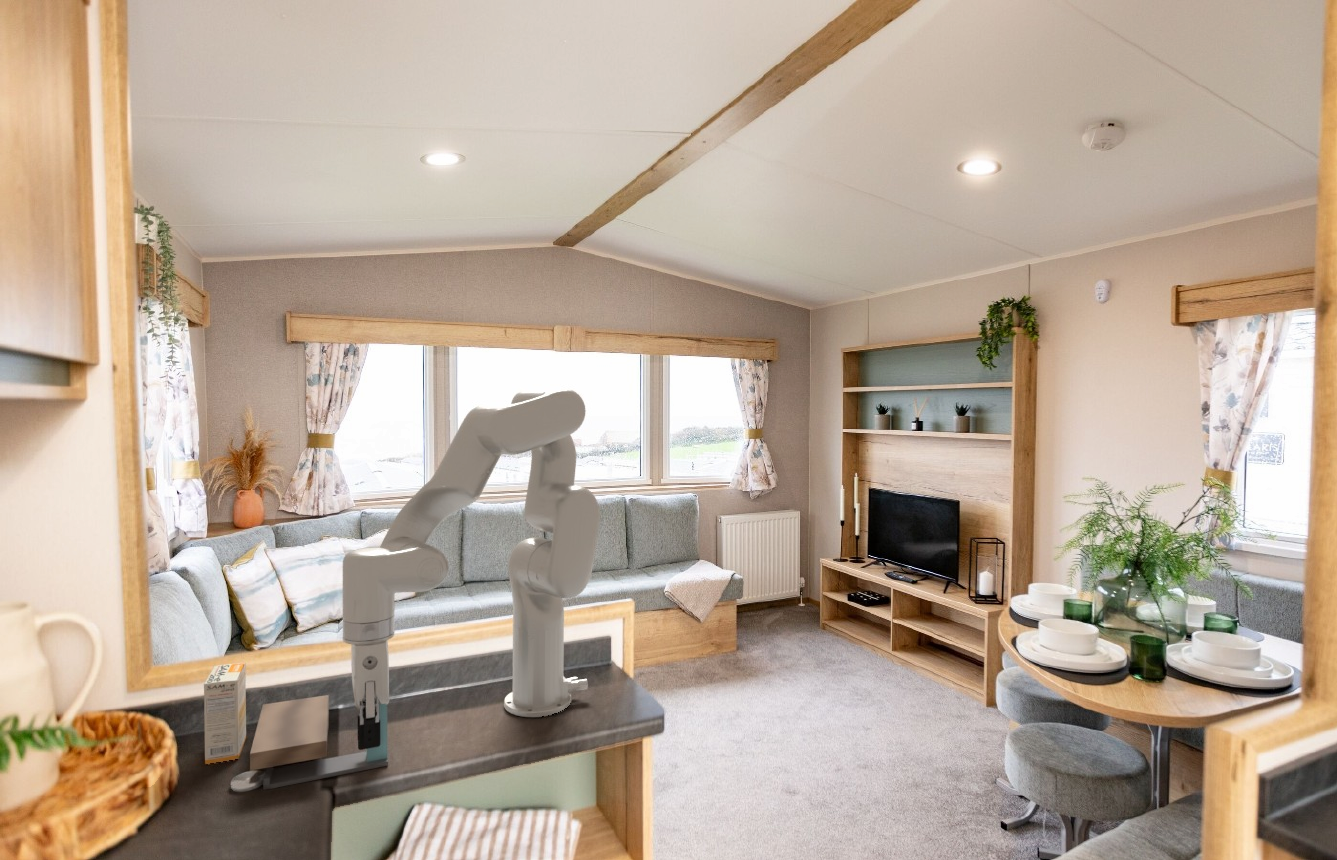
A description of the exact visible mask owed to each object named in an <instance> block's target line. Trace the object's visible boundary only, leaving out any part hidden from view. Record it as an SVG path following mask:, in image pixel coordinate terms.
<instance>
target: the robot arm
mask: <svg viewBox="0 0 1337 860" xmlns="http://www.w3.org/2000/svg"><path fill="white" fill-rule="evenodd" d="M586 411H587V410H586V405H585V402H584V400H583V398H582V396H581V395H580V394H579V393H577V392H576V391H575V390H572V389H570V388H565V387H546V388H545V387H533V388H526V389H523V390H520V391H518V392H517V393H516V394H515V395H514V396H513V398H512V400H511V402H510V404H485V405H479V406H476V407H474V408H472V409H471V410H470V411H468V413H467V414H466V415H465V417H464V419H463V421H462V422H461V424H460V426H459V428H458V430H457V431H456V434H455V435H454V436H453V439H452V441H451V442H450V444H449V447H448V448H447V450H446V452H445V454H444V455H443V458H442V459H441V461H440V463H439V464H438V467H437V469H436V470H435V472H434V474H433V476H432V477H431V478H430V479H429V480H428V482H426V483H425V484H424V485H423V486H421V488H420V489H419V490H418V491H417V492H416V493H415V494H414V495H413V496H412V497H411V498H410V499H409V501H407V503H405V504H404V505H403V507H402V508H401V510H399V512H398V513H397V515H396V516H395V518H394V520H393V522H392V523H391V525H390V527H389V528H388V531H386V534H385V536H384V538H383V539H382V541H381V544H380V547H366V548H365V547H364V548H357V549H354V550H350V551H349V552H347V553H346V554H345V556H344V557H343V559H342V560H343V561H342V642H343V643H345V644H348V645H350V650H351V651H350V652H351V653H350V655H351V657H350V658H351V660H350V662H351V663H350V664H351V681H352V682H351V683H352V691H353V698H354V705H355V706H354V707H356V708H357V709H358V714H359V715H357V749H358V750H360V751H362V750H366V749H368V748H374V747H379V746H380V720H379V701H380V703H381V704H385V705H387V706H388V704H389V703H390V672H389V671H390V668H389V667H390V665H389V663H390V662H389V659H390V657H389V641H388V640H391V639H392V638H394V636H395V597H396V595H395V594H399V593H423V592H424V593H425V592H428V591H430V590H434V589H436V588H437V587H439V586H440V585H441V584H443V582H444V581H445V579H446V578H447V577H448V573H449V566H450V565H449V561H448V558H447V556H446V555H445V554H444V552H443V551H442V550H440V549H438V548H437V547H435V546H433V545H430V544H427V543H428V542H429V540H430V538H431V537H432V535H433V533H434V532H435V531H436V529H437V528H438V526H439V525H441V524H442V523H443V522H444V521H445V520H446V519H447V518H448V517H450V516H451V515H453V514H454V513H456V512H458V511H461V510H463V509H464V508H465V509H466V508H467V507H468V506H470V505H472V504H474V503H475V502H476V501H478V500H479V498H480V497H481V495H482V493H483V491H484V489H485V487H486V485H487V483H488V481H489V479H490V477H491V475H492V473H493V472H494V469H495V467H496V465H497V463H498V462H499V460H500V458H501V456H502V455H508V456H512V455H519V454H523V453H527V452H530V451H531V461H530V462H531V463H530V472H529V477H528V483H527V484H528V485H527V490H526V494H525V495H526V496H525V503H524V517H525V520H526V522H527V524H528V525H529V526H530V527H532V528H533V529H535V530H538V531H541V532H544V533H549V534H552V538H551V539H547V538H543V537H529V538H526V539H523V540H521V541H520V542H518V543H517V544H516V545H515V546H514V547H513V549H512V551H511V552H510V555H509V559H508V564H507V565H508V567H507V568H508V577H509V584H510V590H511V596H512V597H511V598H512V691H511V692H509V693H508V694H507V695H506V696H505V697H504V699H503V707H504V709H505V710H506V711H507V712H508V713H509V714H511V715H513V716H519V717H522V718H523V717H524V718H541V717H542V716H544V717H549V716H553V715H552V714H554V713H557V714H559V713H561V712H563V711H565V710H566V709H565V708H567V707H568V706H569V705H571V704H572V693H573V692H575V691H584V690H589V689H588V688H589V681H588V679H587V678H584V679H578V677H577V676H573V677H569V678H566V677H565V676H564V656H565V655H564V651H565V650H564V649H565V648H564V643H565V642H564V637H565V636H564V635H565V632H564V630H565V629H564V628H565V626H564V625H565V609H564V601H563V599H573V598H575V597H577V596H579V595H580V594H581V593H582V592H583V591H584V590H586V587H587V586H588V584H589V582H590V579H591V576H592V573H593V568H594V562H595V555H596V549H597V541H598V534H599V529H600V528H599V527H600V520H601V518H600V516H601V514H600V507H599V503H598V500H597V498H596V496H595V494H594V493H593V492H591V491H590V490H589V489H588V488H586V487H584V486H581V485H578V484H577V485H576V484H575V478H576V477H575V476H576V469H577V468H576V465H577V450H576V445H575V442H574V440H573V438H572V436H571V435H572V434H574V433H576V431H578V429H580V427H581V426H582V424H583V423H584V421H585V417H586ZM374 700H376V701H374ZM570 703H571V704H570ZM569 707H570V706H569ZM569 707H568V708H569ZM564 709H565V710H564ZM562 710H563V711H562ZM560 711H561V712H560ZM558 712H559V713H558ZM548 715H549V716H548ZM554 715H555V714H554Z"/></svg>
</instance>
